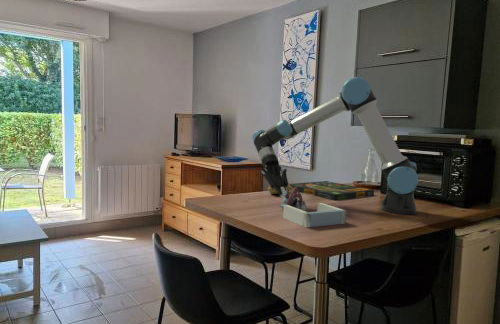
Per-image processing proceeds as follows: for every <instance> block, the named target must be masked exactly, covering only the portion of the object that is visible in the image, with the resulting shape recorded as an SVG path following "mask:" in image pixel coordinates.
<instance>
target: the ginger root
mask: <svg viewBox="0 0 500 324" xmlns="http://www.w3.org/2000/svg"><path fill="white" fill-rule="evenodd" d="M290 184H291V183H289V182H288V186H287V187H286V190H287V191H288V194H289V195H291V194H292V192H293V187H291V185H290ZM267 190H268V192H269V193H270V194H271V195H277V194H278V192H277V191H275V189H272V188H271V186H270V185H269V187H268V188H267ZM278 195H279V194H278Z"/></svg>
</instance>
